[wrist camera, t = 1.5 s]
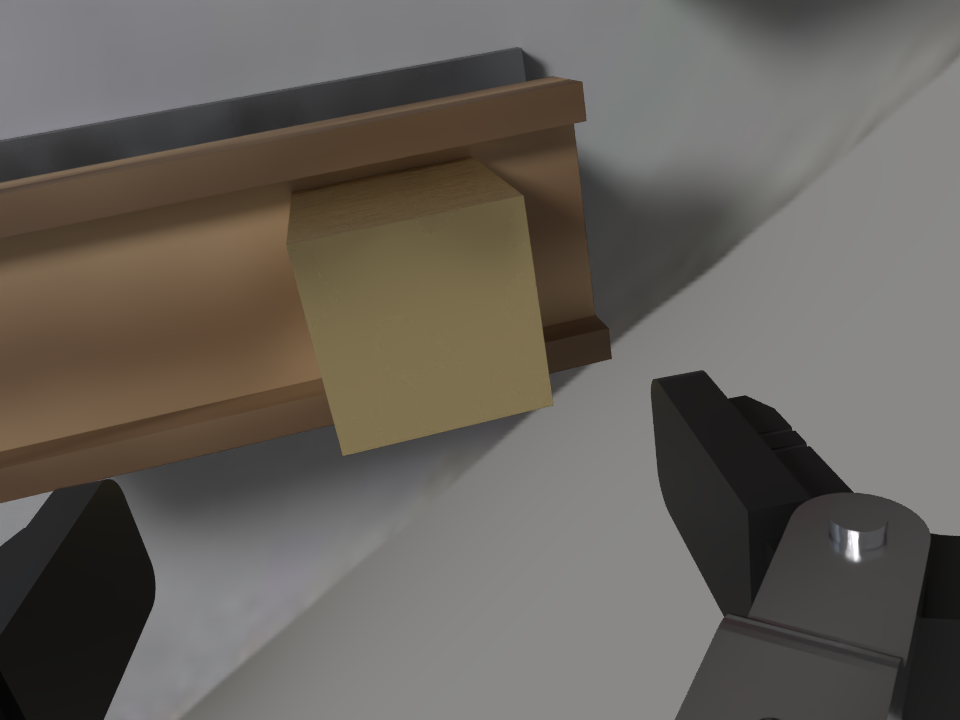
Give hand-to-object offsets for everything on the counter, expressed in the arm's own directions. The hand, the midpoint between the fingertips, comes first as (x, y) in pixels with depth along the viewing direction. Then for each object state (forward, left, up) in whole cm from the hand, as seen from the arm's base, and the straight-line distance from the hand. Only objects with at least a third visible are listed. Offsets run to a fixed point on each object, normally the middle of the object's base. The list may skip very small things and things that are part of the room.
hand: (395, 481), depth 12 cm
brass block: (0, 0, -12) cm, 12 cm away
